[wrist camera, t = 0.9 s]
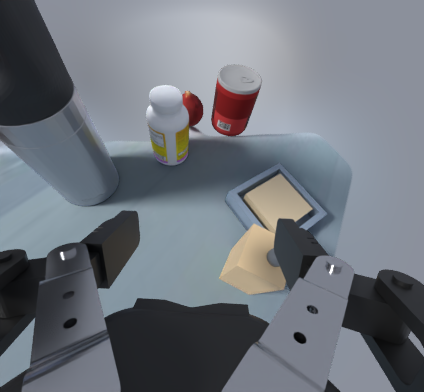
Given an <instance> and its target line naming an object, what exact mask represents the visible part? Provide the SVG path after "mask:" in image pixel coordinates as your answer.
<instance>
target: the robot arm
mask: <svg viewBox="0 0 424 392" xmlns="http://www.w3.org/2000/svg"><path fill="white" fill-rule="evenodd" d="M0 141H2V142H3V143H4V144H5V145H6V146H7V147H8V148H10V149H11V150H12V151H13V152H14V153H15V154H16V155H17V156H18V157H20V158H21V159H22V160H23V161H24V162H25V163H26V164H27V165H28V166H30V167H31V168H32V169H33V170H34V171H35V172H36V173H37V174H38V175H40V176H41V177H42V178H43V179H44V180H45V181H46V182H47V183H48V184H50V185H51V186H52V187H53V188H54V189H55V190H56V191H57V192H58V193H59V194H61V195H62V196H63V197H64V198H65V199H66V200H68V201H69V202H70V203H73V204H75V205H80V206H90V205H95V204H98V203H101V202H103V201H104V200H106V199H108V198H109V197H110V196H111V195H112V194H113V193H114V192H115V190H116V188H117V187H118V183H119V175H118V172H117V170H116V168H115V166H114V164H113V162H112V160H111V157H110V155H109V153H108V151H107V149H106V147H105V145H104V143H103V141H102V139H101V137H100V135H99V133H98V132H97V129H96V127H95V125H94V123H93V121H92V119H91V117H90V115H89V113H88V111H87V109H86V107H85V105H84V104H83V102H82V100H81V98H80V96H79V94H78V92H77V89H76V87H75V86H74V84H73V81H72V79H71V77H70V76H69V74H68V72H67V70H66V67H65V65H64V63H63V61H62V59H61V57H60V54H59V52H58V50H57V48H56V45H55V43H54V41H53V39H52V37H51V35H50V33H49V31H48V29H47V27H46V24H45V22H44V20H43V18H42V16H41V14H40V12H39V10H38V8H37V5H36V3H35V1H34V0H0ZM139 241H140V231H139V220H138V213H137V212H136V211H121V212H120V213H119V214H118V215H117V216H115V217H114V218H112V219H110V220H108V221H105V222H104V223H102V224H101V225H100V226H99V227H98V228H96V229H95V230H94V231H93V232H92V233H90V234H89V235H88V236H87V237H86V238H84V239H83V240H82V241H81V242H80V243H69V244H65V245H62V246H59V247H57V248H55V249H53V250H52V251H51V252H50V253H49V254H48V255H47V257H46V258H39V259H31V260H28V258H27V254H26V252H25V251H24V250H21V249H14V250H7V251H3V252H0V356H1V355H2V354H3V353H4V352H5V351H6V349H7V348H8V347H9V346H10V345H11V344H12V343H13V342H14V340H15V339H16V338H17V337H18V336H19V335H20V334H21V333H22V331H23V330H24V329H25V328H26V327H27V326H28V325H29V324H30V322H31V321H32V320H33V319H34V318H35V326H34V335H33V344H32V353H31V362H30V367H29V368H28V369H27V370H25V371H24V372H22V373H21V374H19V375H18V376H16V377H15V378H13V379H12V380H10V381H9V382H7V383H6V384H5V385H3V386H2V387H0V392H340V391H339V390H338V389H337V388H336V387H335V386H334V385H333V384H332V383H331V382H330V381H329V380H328V376H329V372H330V368H331V363H332V360H333V356H334V353H335V349H336V345H337V341H338V337H339V333H340V329H341V326H342V327H345V328H348V329H351V330H354V331H357V332H360V333H361V335H362V336H363V338H364V340H365V342H366V343H367V345H368V346H369V348H370V350H371V351H372V353H373V355H374V356H375V358H376V360H377V361H378V363H379V365H380V366H381V368H382V370H383V371H384V373H385V375H386V376H387V378H388V380H389V381H390V383H391V385H392V386H393V388H394V390H395V391H396V392H424V357H423V355H422V354H421V353H420V351H419V350H418V349H417V348H416V347H415V346H414V344H413V343H412V342H411V341H410V339H409V338H408V336H409V334H410V331H412V332H413V333H414V334H415V336H416V337H417V338H418V339H419V340H420V342H421V344H422V346H423V348H424V285H423V284H422V283H420V282H419V281H417V280H416V279H414V278H412V277H410V276H408V275H406V274H404V273H401V272H398V271H393V270H381V271H379V273H378V276H377V278H376V279H373V278H369V277H365V276H361V275H357V274H354V270H353V268H352V267H351V266H350V265H349V264H347V263H346V262H344V261H343V260H341V259H338V258H335V257H332V256H329V255H328V254H327V253H326V251H325V250H324V249H323V248H322V246H321V245H320V244H318V242H317V240H316V239H315V238H314V237H313V236H312V234H311V233H310V232H308V231H307V230H305V229H303V228H299V226H298V225H297V224H296V222H295V221H294V220H293V219H285V218H279V219H278V221H277V226H276V232H275V239H274V253H275V256H276V258H277V261H278V263H279V265H280V268H281V270H282V273H283V275H284V277H285V280H286V282H287V285H288V287H289V290H290V292H289V294H288V296H287V297H286V299H285V300H284V302H283V304H282V305H281V307H280V308H279V310H278V311H277V313H276V315H275V316H274V318H273V319H272V321H271V323H270V324H269V323H267V322H266V321H264V320H262V319H260V318H258V317H256V316H253V315H250V314H249V310H248V305H244V304H227V303H218V304H212V305H205V306H199V307H187V306H184V305H180V304H177V303H173V302H170V301H167V300H159V299H142V298H137V301H136V303H135V305H134V307H133V308H128V309H124V310H121V311H118V312H115V313H113V314H111V315H109V316H107V317H105V318H104V315H103V311H102V307H101V302H100V298H99V294H98V290H97V289H98V288H107V289H109V288H110V286H111V285H112V283H113V282H114V281H115V279H116V278H117V276H118V275H119V273H120V272H121V270H122V269H123V267H124V266H125V264H126V263H127V261H128V260H129V259H130V257H131V256H132V254H133V253H134V251H135V250H136V248H137V247H138V245H139Z"/></svg>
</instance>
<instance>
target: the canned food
mask: <svg viewBox="0 0 424 392" xmlns="http://www.w3.org/2000/svg"><path fill="white" fill-rule="evenodd" d="M261 83H262V79H261V77H260V75H259V74H258V73H257V72H256V71H254V70H253V69H251V68H249V67H246V66H243V65H227V66H225V67H223V68H221V69H220V71H219V74H218V78H217V84H216V91H215V98H214V104H213V112H212V118H211V120H212V125H213V127H214V129H215V130H216V131H217V132H219V133H221V134H223V135H226V136H236V135H239V134H241V133H242V132H243V131H244V130H245V128H246V126H247V124H248V121H249V118H250V116H251V113H252V110H253V107H254V104H255V102H256V99H257V96H258V93H259V90H260V87H261Z"/></svg>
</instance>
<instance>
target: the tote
mask: <svg viewBox="0 0 424 392" xmlns="http://www.w3.org/2000/svg"><path fill="white" fill-rule="evenodd" d="M279 174H281V175H282V176H283V177H284V178H285V179H286V180H287V181H288V182H289V183H290V185H291V186H292V187H293V188H294V189H295V190H296V191H297V192H298V193H299V194H300V195H301V197H302V198H303V199H304V200H305V201H306V202H307V203H308V204H309V205H310V206H311V207H312V210H311V211H309V212H308V213H307V214H305V215H304V216H303V217H301V218H300V219H298V220H297V221H296V224H297V225H298V226H299V228H303V229H305V230H307V229H309V228H310V227H311V226H313V225H314V224H315V223H316V222H318V221H319V220H320V219H322V218H323V217H324V216H325V215H327V213H326V212H325V211H324V209H323V208H322V207H321V206H320V205H319V204H318V203H317V202H316V201H315V200H314V199H313V198H312V197H311V196H310V194H309V193H308V192H307V191H306V190H305V189H304V188H303V187H302V186H301V185H300V184H299V183H298V182H297V181H296V180H295V178H294V177H293V176H292V175H291V174H290V173H289V172H288V171H287V170H286V169H285V168H284V167H283V166H282V165H281V163H278V164H276V165H275V166H273V167H271V168H269V169H267V170H266V171H264V172H262V173H260V174H259V175H257V176H255V177H253V178H252V179H250V180H248V181H246V182H245V183H243V184H241V185H239V186H237V187H236V188H234V189H232V190H230V191H229V192H228V194H227V196H226V199H225V202H226V203H227V205H228V206H229V207H230V209H231V210H232V211H233V213H234V214H235V215H236V217H237V218H238V219H239V221H240V222H241V223H242V224H243V226H244V227H245V228H246V230H247V231H248V230H249V229H250V227H251V226H252V225H253V224H256V225H258V226H260V227H262V228H264V227H263V226H262V225H261V224H260V222H259V221H258V220H257V218H256V217H255V216H254V215H253V213H252V212H251V211H250V210H249V208H248V207H247V206H246V205H245V203H244V202H243V201H242V200H243V198H244V196H245V195H246V194H247V193H248V192H250V191H252V190H253V189H255V188H257V187H258V186H260V185H262V184H263V183H265V182H267V181H269V180H270V179H272V178H274V177H275V176H277V175H279Z"/></svg>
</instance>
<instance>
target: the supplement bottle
mask: <svg viewBox="0 0 424 392" xmlns="http://www.w3.org/2000/svg"><path fill="white" fill-rule="evenodd" d="M149 99H150V106H149V107H148V109H147V112H146V119H147V124H148V128H149V133H150V138H151V143H152V148H153V152H154V155H155V157H156V159H157V160H158V161H159V162H161V163H162V164H165V165H177V164H180V163H182V162H183V161H184V160H185V159H186V158H187V156H188V145H189V114H188V111H187V109H186V107H185V106H184V105H183V96H182V93H181V92H180V91H179V90H178V89H177V88H175V87H173V86H169V85H161V86H157V87H155V88H153V89H152V90H151V91H150V94H149Z"/></svg>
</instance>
